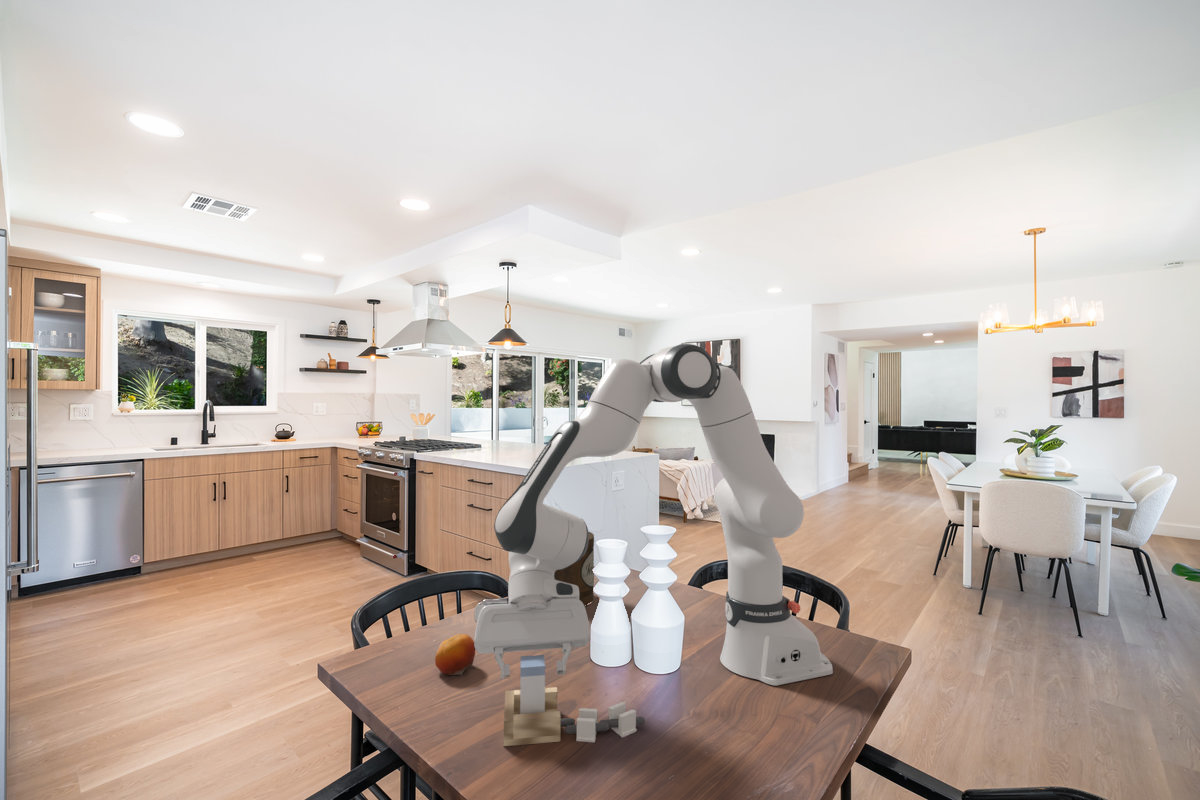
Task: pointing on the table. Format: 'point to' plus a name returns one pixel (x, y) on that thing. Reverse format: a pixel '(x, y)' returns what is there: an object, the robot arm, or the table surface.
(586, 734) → the clip
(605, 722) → the cable
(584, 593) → the wooden container
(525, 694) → the block
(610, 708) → the clip
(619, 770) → the table surface
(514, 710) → the end holder
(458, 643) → the fruit
